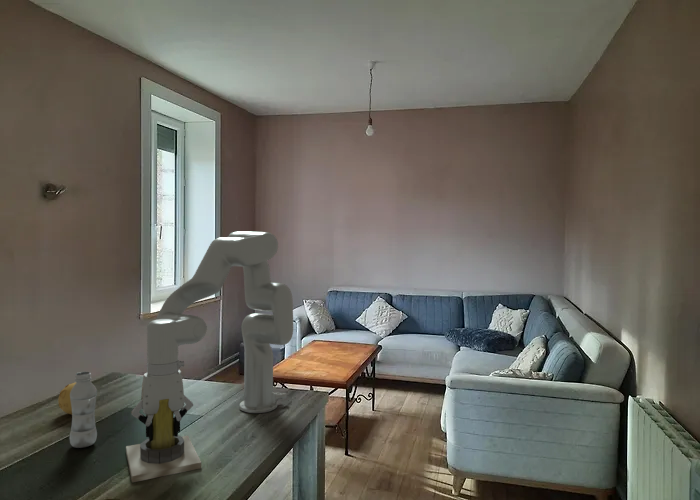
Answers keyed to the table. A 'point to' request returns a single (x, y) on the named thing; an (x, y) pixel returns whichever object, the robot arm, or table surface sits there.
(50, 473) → the table surface
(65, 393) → the stress ball
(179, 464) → the plate
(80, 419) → the plastic bottle
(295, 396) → the table surface
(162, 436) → the vase
